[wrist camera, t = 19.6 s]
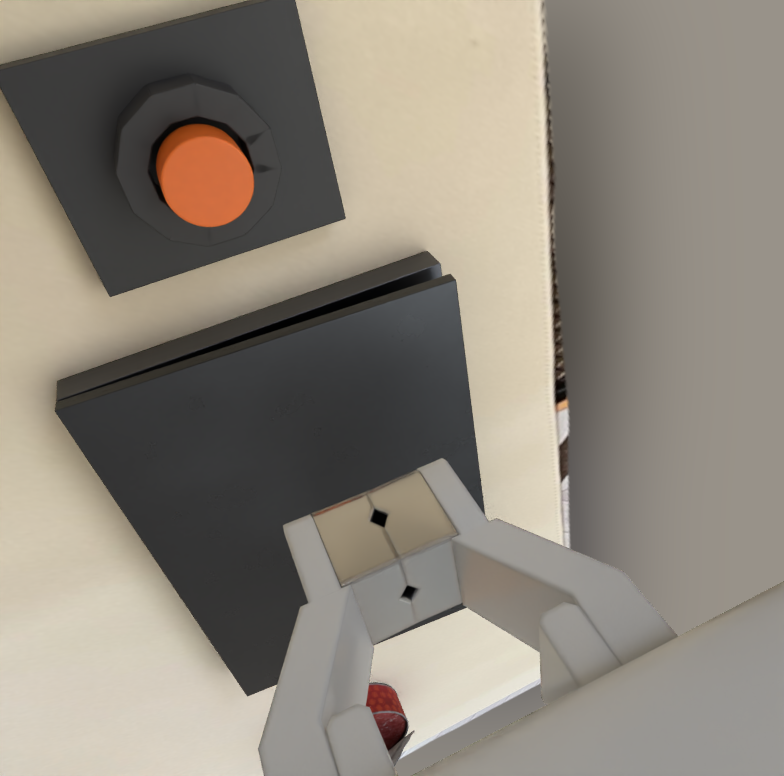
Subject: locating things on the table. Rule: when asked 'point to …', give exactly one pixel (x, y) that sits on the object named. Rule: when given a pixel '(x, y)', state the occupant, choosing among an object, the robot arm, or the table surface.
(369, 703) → the canned food
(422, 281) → the laptop
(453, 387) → the laptop screen
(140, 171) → the switch block
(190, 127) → the power button
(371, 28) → the table surface
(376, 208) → the table surface
